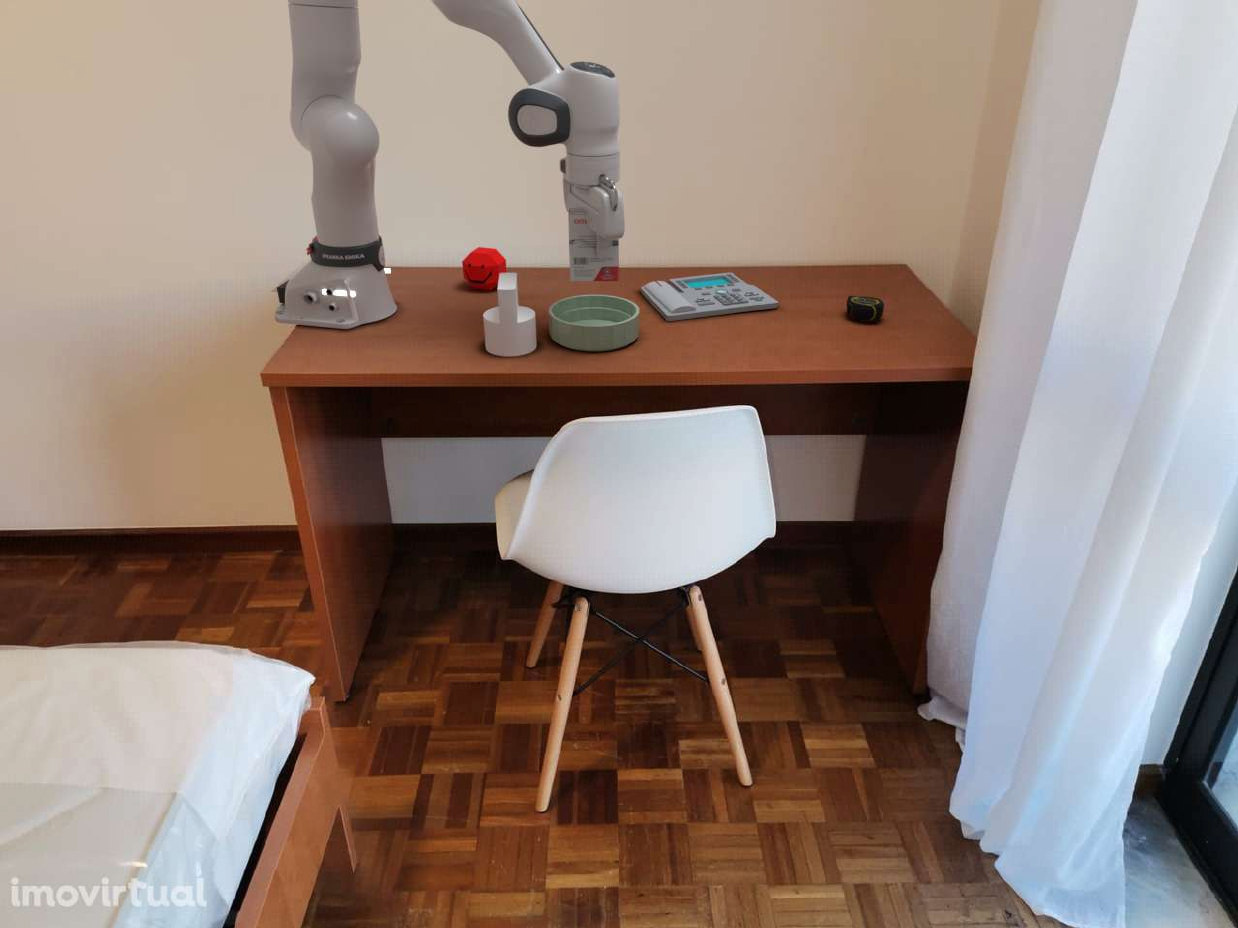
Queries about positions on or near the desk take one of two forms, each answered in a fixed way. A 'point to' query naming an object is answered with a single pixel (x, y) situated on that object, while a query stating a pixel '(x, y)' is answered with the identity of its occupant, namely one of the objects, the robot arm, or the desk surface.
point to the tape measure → (865, 308)
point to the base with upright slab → (509, 322)
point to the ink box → (589, 252)
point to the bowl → (594, 322)
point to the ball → (483, 268)
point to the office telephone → (705, 296)
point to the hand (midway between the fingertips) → (593, 251)
